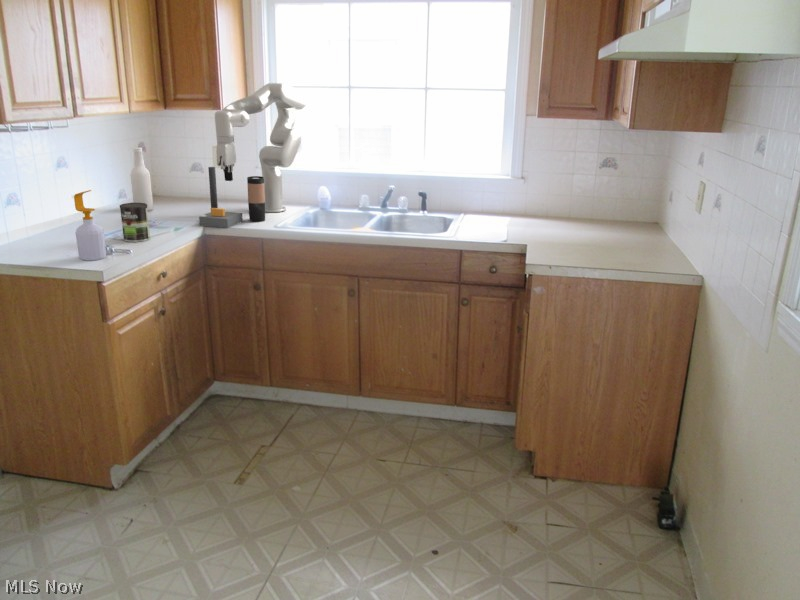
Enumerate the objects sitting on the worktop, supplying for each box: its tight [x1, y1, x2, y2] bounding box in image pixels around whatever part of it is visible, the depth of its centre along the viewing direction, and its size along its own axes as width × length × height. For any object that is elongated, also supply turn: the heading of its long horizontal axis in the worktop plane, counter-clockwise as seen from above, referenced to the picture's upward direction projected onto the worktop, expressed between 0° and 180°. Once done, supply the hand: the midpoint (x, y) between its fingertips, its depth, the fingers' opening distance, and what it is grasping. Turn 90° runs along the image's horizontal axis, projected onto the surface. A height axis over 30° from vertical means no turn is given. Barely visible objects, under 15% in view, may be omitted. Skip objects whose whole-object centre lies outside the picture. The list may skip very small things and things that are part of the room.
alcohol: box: [130, 146, 154, 212], centre depth 310 cm, size 9×9×30 cm
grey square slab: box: [198, 211, 244, 229], centre depth 292 cm, size 14×14×4 cm
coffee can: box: [119, 202, 151, 243], centre depth 259 cm, size 10×10×14 cm
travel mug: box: [246, 175, 266, 223], centre depth 298 cm, size 8×8×20 cm
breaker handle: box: [210, 207, 226, 217], centre depth 288 cm, size 2×6×3 cm, turn 76°
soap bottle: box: [73, 189, 107, 262], centre depth 230 cm, size 9×9×25 cm
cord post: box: [208, 166, 219, 209], centre depth 302 cm, size 8×8×23 cm
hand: (228, 180), depth 294 cm, fingers closed
